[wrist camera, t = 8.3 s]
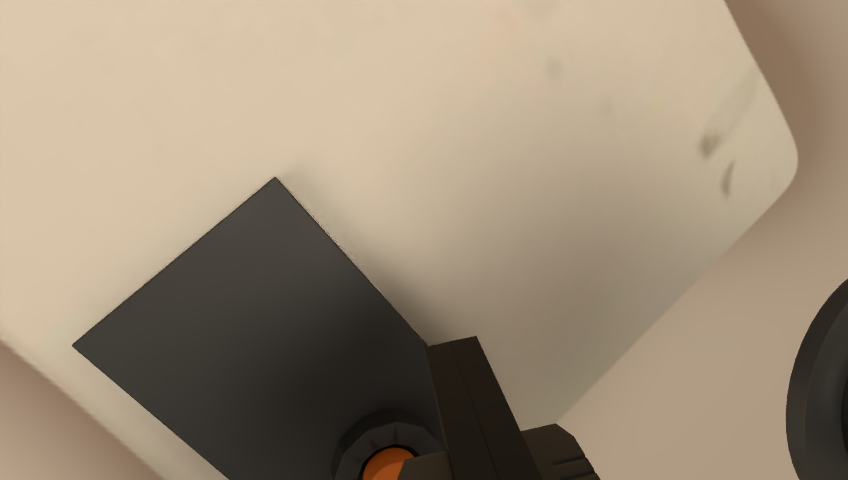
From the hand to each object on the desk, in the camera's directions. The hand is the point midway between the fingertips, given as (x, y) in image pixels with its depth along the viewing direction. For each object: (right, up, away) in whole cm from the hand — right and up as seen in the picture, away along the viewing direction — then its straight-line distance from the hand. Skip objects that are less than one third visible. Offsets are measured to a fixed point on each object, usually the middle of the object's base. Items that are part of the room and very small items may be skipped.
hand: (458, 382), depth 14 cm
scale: (-8, -3, +12) cm, 15 cm away
